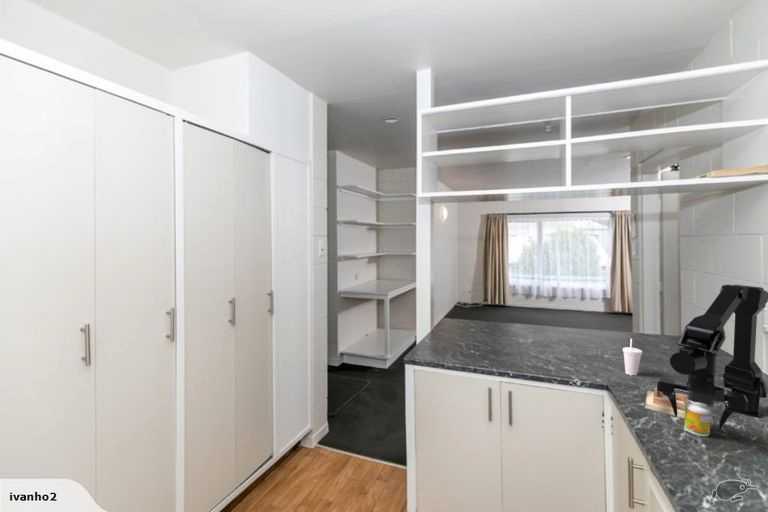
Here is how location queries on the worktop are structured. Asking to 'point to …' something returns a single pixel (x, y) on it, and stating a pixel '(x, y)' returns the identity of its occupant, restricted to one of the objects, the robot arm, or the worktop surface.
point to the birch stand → (666, 403)
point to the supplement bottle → (697, 418)
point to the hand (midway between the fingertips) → (697, 422)
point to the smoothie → (631, 359)
